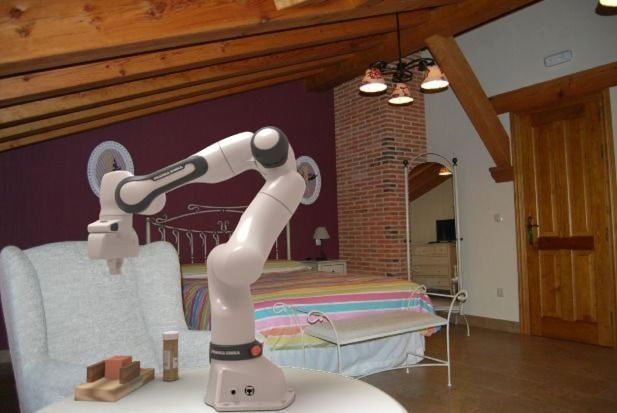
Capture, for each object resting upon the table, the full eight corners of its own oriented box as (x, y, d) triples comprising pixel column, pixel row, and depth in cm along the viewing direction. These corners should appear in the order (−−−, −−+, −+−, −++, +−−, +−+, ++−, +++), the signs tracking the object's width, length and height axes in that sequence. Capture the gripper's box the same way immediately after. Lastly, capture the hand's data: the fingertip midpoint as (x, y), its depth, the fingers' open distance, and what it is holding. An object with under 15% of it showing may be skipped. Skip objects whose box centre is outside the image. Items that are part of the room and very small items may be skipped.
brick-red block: (131, 374, 128) (132, 355, 128) (121, 379, 123) (122, 360, 123) (115, 373, 128) (115, 355, 129) (104, 378, 124) (105, 359, 124)
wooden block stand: (154, 378, 133) (154, 354, 134) (114, 401, 114) (114, 373, 114) (120, 377, 135) (120, 353, 136) (74, 400, 116) (75, 371, 116)
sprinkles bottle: (180, 379, 132) (180, 332, 133) (164, 382, 129) (165, 334, 131) (175, 376, 136) (176, 329, 137) (160, 378, 133) (160, 331, 134)
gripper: (125, 228, 143) (125, 272, 142) (83, 225, 123) (82, 277, 122) (144, 227, 142) (144, 272, 141) (104, 225, 122) (103, 277, 121)
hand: (115, 274), depth 131 cm, fingers closed
